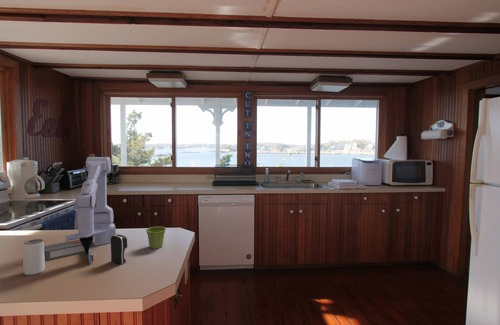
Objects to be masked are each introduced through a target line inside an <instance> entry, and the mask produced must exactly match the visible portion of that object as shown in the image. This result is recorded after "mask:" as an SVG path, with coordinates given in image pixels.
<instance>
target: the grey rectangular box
mask: <svg viewBox="0 0 500 325" xmlns="http://www.w3.org/2000/svg"><path fill="white" fill-rule="evenodd" d="M44 253H45V261H49V260H55V259H60V258H64V257H68V256H72V255H78V254H82V253H85V250H84V247H83V245H82V244H81V242H80V239H76V240H70V241H67V242H66V241H63V242H58V243H54V244H48V245H44Z"/></svg>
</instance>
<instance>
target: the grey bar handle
mask: <svg viewBox="0 0 500 325" xmlns="http://www.w3.org/2000/svg"><path fill="white" fill-rule="evenodd" d="M87 257H88V263H89V265H91V264H92V262H94V254H92V250H91V247H90V248H89V252H88V255H87Z"/></svg>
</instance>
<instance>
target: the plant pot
mask: <svg viewBox="0 0 500 325" xmlns="http://www.w3.org/2000/svg"><path fill="white" fill-rule="evenodd" d="M166 230H167V228H166V227H165V226H151V227H148V228H146V229H145V232H146V234H147V237H148V246H149V248H150V249H155V250H156V249H160V248H162V247H163V245H164V238H165V233H166Z"/></svg>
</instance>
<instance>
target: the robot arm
mask: <svg viewBox="0 0 500 325" xmlns="http://www.w3.org/2000/svg"><path fill="white" fill-rule="evenodd" d="M85 167H86V169H87V170H86V171H88V172H87V173H88V174H87V179H86V180H85V181H84V182H83V183H82V187H81V190H80V193H79V195H77V196H76V198H75V201H74V205H75V209H76V212H75V213H76V214H77V227H78V228H77V231H78V232H77V233H73V234H70V235H69V234H68V235H65V236H64V237H65V242H69V241H74V240H79V239H80V242H81V244H82V245H83V247H84V250H85V252H84V255H85V256H88V252H89V248H90V249H91V245H92V244H93V245H94V246H96V247H97V246H100V245H101V246H102V245H105V244H106V245H107V244H111V237H112V236H113V235H117V234H116V233H117V231H116V225H115V223H113V222H114V217H115V216H114V210H113V208H112V207H110V206H109V205H108V203H107V202H108V200H107V199H108V198H107V196H108V195H107V194H108V191H107V190H108V187H107V186H108V185H107V183H108V182H107V181H108V180H107V179H108V178H107V176H108V174H110V173H111V172H112V171H111V170H112V162H111V158H110V157H109V156H104V157H103V156H101V157H100V156H91V157H90V156H87V158H86V160H85Z"/></svg>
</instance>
